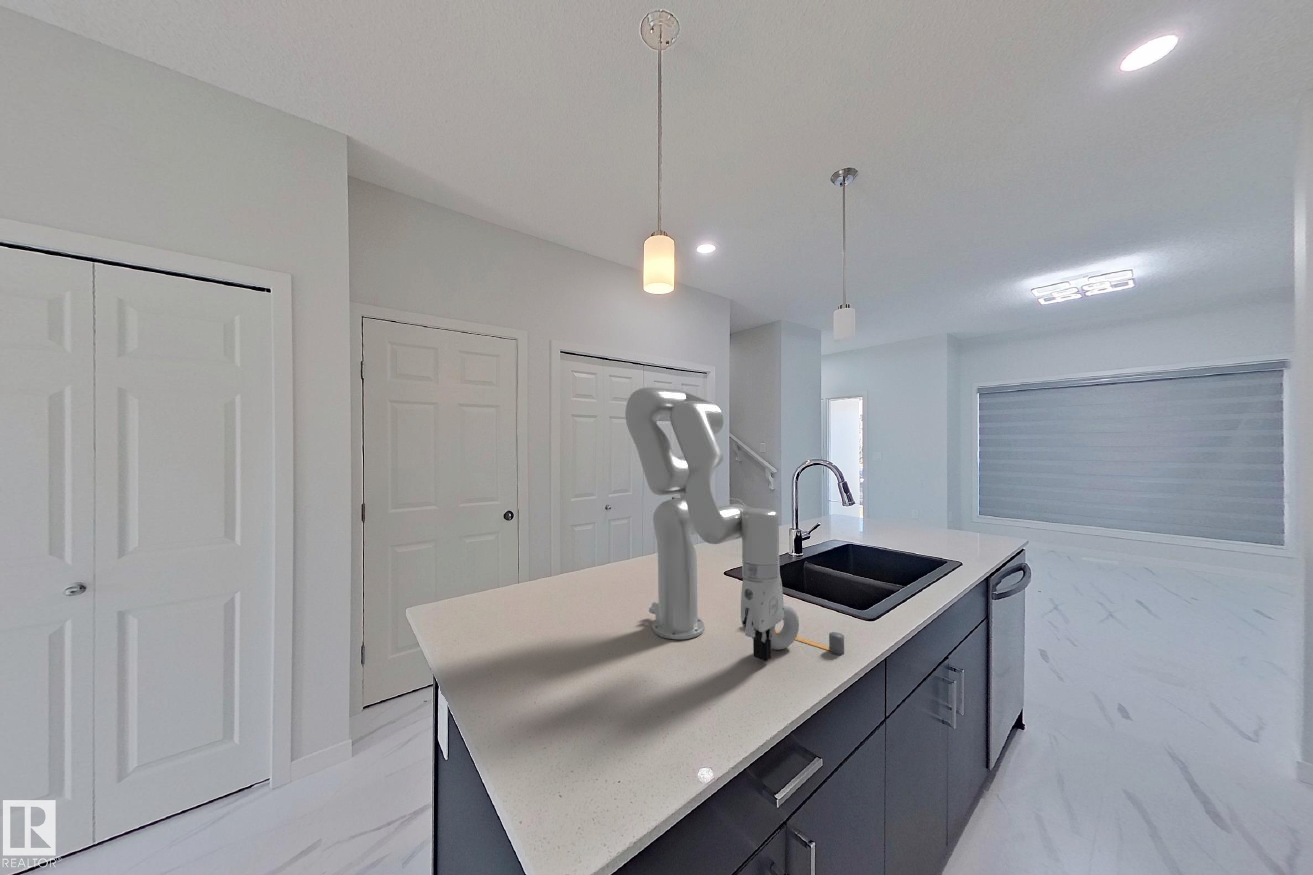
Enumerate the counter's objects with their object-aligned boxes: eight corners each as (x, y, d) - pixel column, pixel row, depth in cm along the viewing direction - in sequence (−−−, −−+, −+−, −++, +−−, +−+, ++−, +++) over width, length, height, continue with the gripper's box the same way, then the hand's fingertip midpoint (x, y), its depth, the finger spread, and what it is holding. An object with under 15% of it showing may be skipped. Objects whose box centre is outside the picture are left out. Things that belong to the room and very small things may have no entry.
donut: (792, 641, 101) (792, 597, 101) (802, 647, 98) (802, 602, 98) (755, 649, 97) (755, 603, 97) (765, 656, 94) (765, 609, 94)
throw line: (746, 625, 110) (746, 611, 110) (752, 621, 112) (752, 607, 112) (841, 656, 94) (840, 639, 94) (846, 651, 96) (846, 634, 96)
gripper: (757, 581, 84) (759, 678, 84) (794, 564, 95) (796, 650, 95) (724, 573, 89) (726, 665, 89) (763, 558, 100) (764, 640, 100)
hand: (762, 657), depth 92 cm, fingers closed
